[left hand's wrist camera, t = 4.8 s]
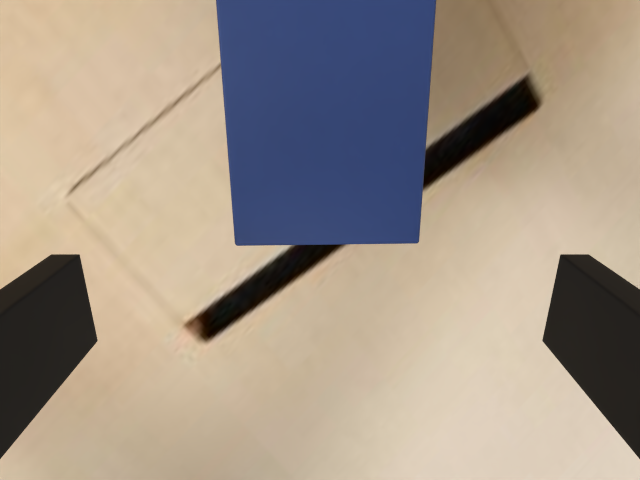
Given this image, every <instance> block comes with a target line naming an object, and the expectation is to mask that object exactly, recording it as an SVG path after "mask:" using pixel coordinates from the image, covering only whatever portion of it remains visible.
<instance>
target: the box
mask: <svg viewBox="0 0 640 480" xmlns="http://www.w3.org/2000/svg"><path fill="white" fill-rule="evenodd" d="M216 5H217V18H218V30H219V43H220V56H221V69H222V82H223V95H224V108H225V120H226V133H227V146H228V159H229V172H230V185H231V197H232V210H233V223H234V236H235V244H236V245H237V246H243V245H322V244H402V243H418V242H419V233H420V219H421V205H422V191H423V177H424V163H425V149H426V136H427V122H428V108H429V94H430V80H431V66H432V52H433V38H434V24H435V10H436V0H216Z"/></svg>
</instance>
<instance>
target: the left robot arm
mask: <svg viewBox="0 0 640 480" xmlns="http://www.w3.org/2000/svg"><path fill="white" fill-rule="evenodd" d="M96 342H97V336H96V331H95V326H94V322H93V317H92V312H91V307H90V303H89V298H88V293H87V288H86V283H85V279H84V274H83V269H82V264H81V260H80V255H50V256H49V257H47V258H46V259H44V260H43V261H41V262H40V263H38V264H37V265H35V266H34V267H33V268H31V269H30V270H28V271H27V272H25V273H24V274H22V275H21V276H19V277H18V278H16V279H15V280H14V281H12V282H11V283H9V284H8V285H6V286H5V287H3V288H2V289H0V459H1V457H2V456H3V455H4V454H5V453H6V451H7V450H8V449H9V448H10V446H11V445H12V444H13V443H14V442H15V440H16V439H17V438H18V437H19V436H20V434H21V433H22V432H23V431H24V429H25V428H26V427H27V426H28V425H29V423H30V422H31V421H32V420H33V419H34V417H35V416H36V415H37V414H38V412H39V411H40V410H41V409H42V408H43V406H44V405H45V404H46V403H47V402H48V400H49V399H50V398H51V397H52V395H53V394H54V393H55V392H56V391H57V389H58V388H59V387H60V386H61V385H62V383H63V382H64V381H65V380H66V378H67V377H68V376H69V375H70V374H71V372H72V371H73V370H74V369H75V368H76V366H77V365H78V364H79V363H80V361H81V360H82V359H83V358H84V357H85V355H86V354H87V353H88V352H89V351H90V349H91V348H92V347H93V346H94V344H95V343H96ZM543 342H544V343H545V344H546V346H547V347H548V348H549V349H550V351H551V352H552V353H553V354H554V355H555V357H556V358H557V359H558V360H559V361H560V363H561V364H562V365H563V366H564V368H565V369H566V370H567V371H568V372H569V374H570V375H571V376H572V377H573V378H574V380H575V381H576V382H577V383H578V385H579V386H580V387H581V388H582V389H583V391H584V392H585V393H586V394H587V395H588V397H589V398H590V399H591V400H592V402H593V403H594V404H595V405H596V406H597V408H598V409H599V410H600V411H601V412H602V414H603V415H604V416H605V417H606V419H607V420H608V421H609V422H610V423H611V425H612V426H613V427H614V428H615V429H616V431H617V432H618V433H619V434H620V436H621V437H622V438H623V439H624V440H625V442H626V443H627V444H628V445H629V446H630V448H631V449H632V450H633V451H634V453H635V454H636V455H637V456H638V457H639V459H640V289H638V288H637V287H635V286H634V285H632V284H631V283H629V282H628V281H626V280H625V279H624V278H622V277H621V276H619V275H618V274H616V273H615V272H613V271H612V270H610V269H609V268H607V267H606V266H605V265H603V264H602V263H600V262H599V261H597V260H596V259H594V258H593V257H591V256H590V255H560V260H559V264H558V269H557V274H556V279H555V283H554V288H553V293H552V298H551V303H550V307H549V312H548V317H547V322H546V326H545V331H544V336H543Z"/></svg>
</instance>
